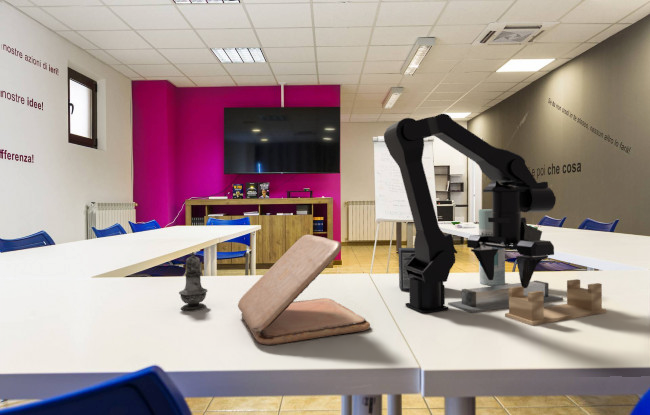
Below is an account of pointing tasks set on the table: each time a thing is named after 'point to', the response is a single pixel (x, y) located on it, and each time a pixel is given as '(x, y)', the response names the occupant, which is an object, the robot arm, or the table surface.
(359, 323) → the case
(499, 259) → the spray paint can
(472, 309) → the mat
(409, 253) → the small box
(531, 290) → the rail
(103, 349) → the table surface
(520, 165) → the robot arm
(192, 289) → the salt shaker
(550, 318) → the cradle stand
